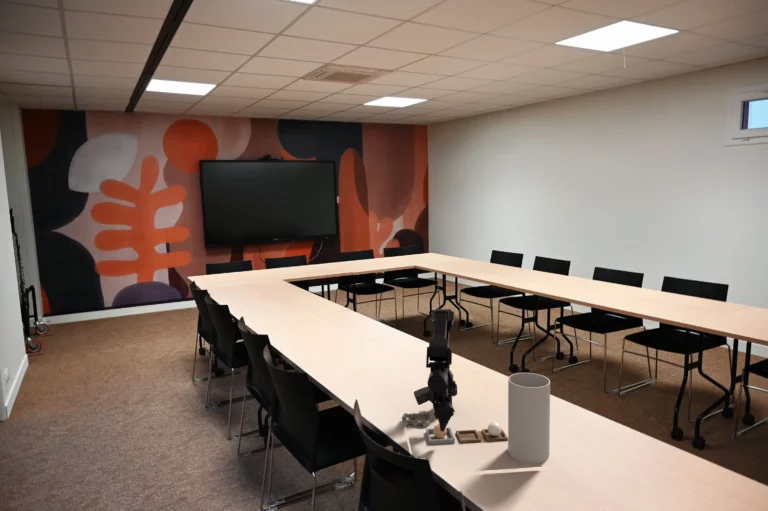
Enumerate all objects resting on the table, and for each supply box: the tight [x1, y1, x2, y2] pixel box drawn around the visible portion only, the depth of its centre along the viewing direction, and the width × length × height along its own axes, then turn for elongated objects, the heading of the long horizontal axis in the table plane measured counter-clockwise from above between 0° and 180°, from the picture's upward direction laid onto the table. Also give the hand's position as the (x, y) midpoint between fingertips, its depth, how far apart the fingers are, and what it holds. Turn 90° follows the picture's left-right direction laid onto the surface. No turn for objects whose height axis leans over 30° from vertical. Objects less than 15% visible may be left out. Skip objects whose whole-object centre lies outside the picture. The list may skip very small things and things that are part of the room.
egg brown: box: [432, 423, 448, 439], centre depth 170 cm, size 5×5×5 cm
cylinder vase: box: [507, 372, 551, 464], centre depth 157 cm, size 12×12×25 cm
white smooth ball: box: [487, 421, 503, 437], centre depth 170 cm, size 5×5×5 cm
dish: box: [425, 427, 456, 446], centre depth 170 cm, size 8×8×2 cm
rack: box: [455, 427, 508, 445], centre depth 170 cm, size 8×16×2 cm, turn 94°
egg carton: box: [401, 410, 433, 429], centre depth 182 cm, size 11×8×4 cm
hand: (439, 424), depth 169 cm, fingers open, 9 cm apart
